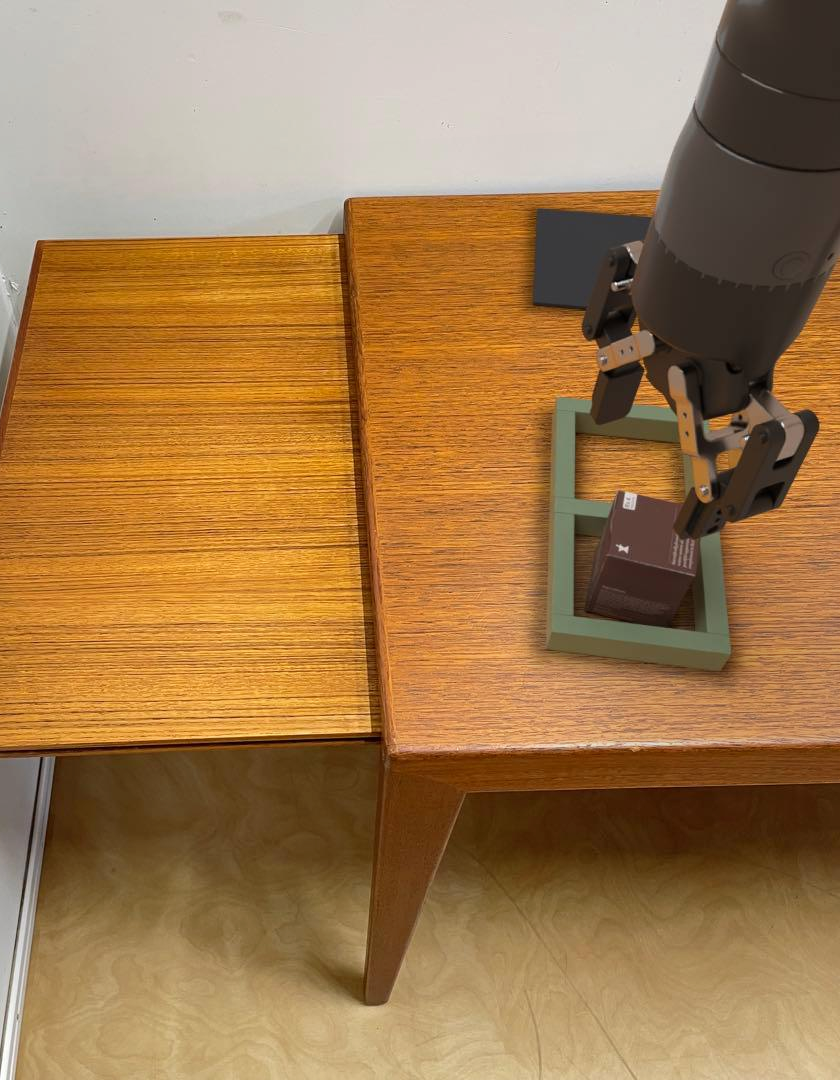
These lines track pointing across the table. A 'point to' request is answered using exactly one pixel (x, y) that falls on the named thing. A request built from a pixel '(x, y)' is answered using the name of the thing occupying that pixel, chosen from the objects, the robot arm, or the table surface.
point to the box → (641, 562)
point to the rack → (589, 518)
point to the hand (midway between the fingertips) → (648, 471)
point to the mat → (577, 252)
